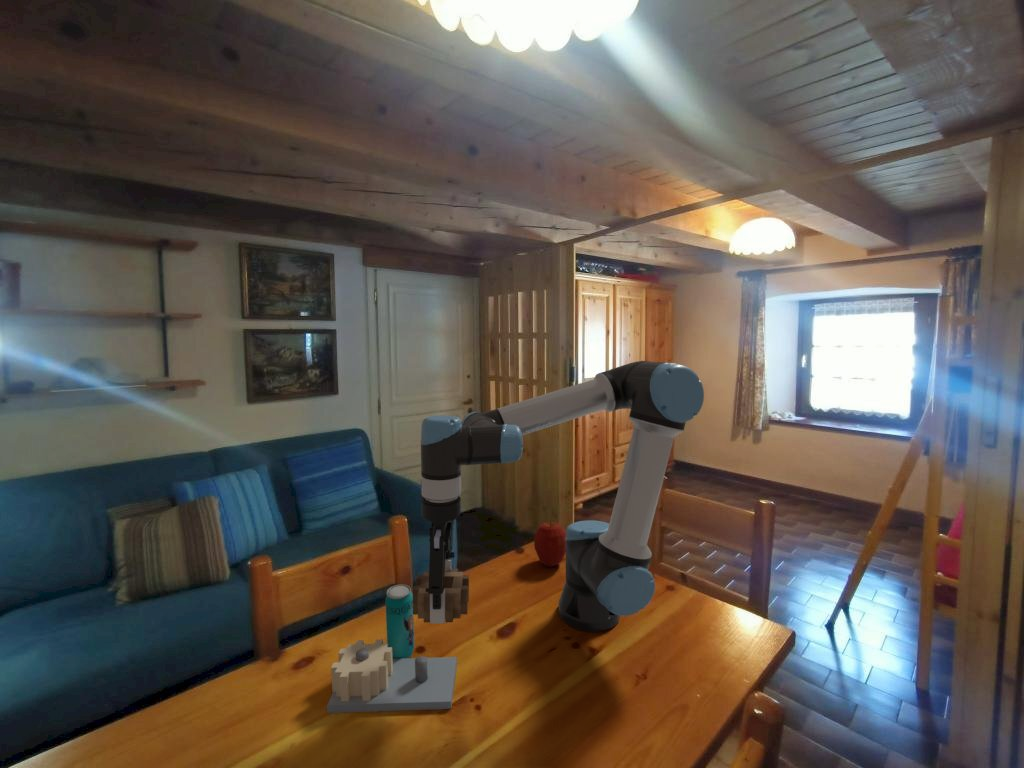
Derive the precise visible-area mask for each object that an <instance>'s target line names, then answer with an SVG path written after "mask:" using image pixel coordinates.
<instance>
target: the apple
mask: <svg viewBox="0 0 1024 768" xmlns="http://www.w3.org/2000/svg"><path fill="white" fill-rule="evenodd" d="M565 538H566V530H565V529H564V528H563V526H562V525H560V524H559V523H557V522H554V521H552V520H549V521H547V522H543V523H541V524H540V526H538V528H537V529H536V531H535V534H534V537H533V541H534V543H533V545H534V550H535V553H536V554H537V557H538V559H539V561H540V562H541V563H542V564H543V565H545V567H548V568H549V567H550V568H551V567H555V566H556V565H557V566H558V564H560V563H561V562H562V561H563V559H564V557H565V556H566V540H565Z"/></svg>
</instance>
